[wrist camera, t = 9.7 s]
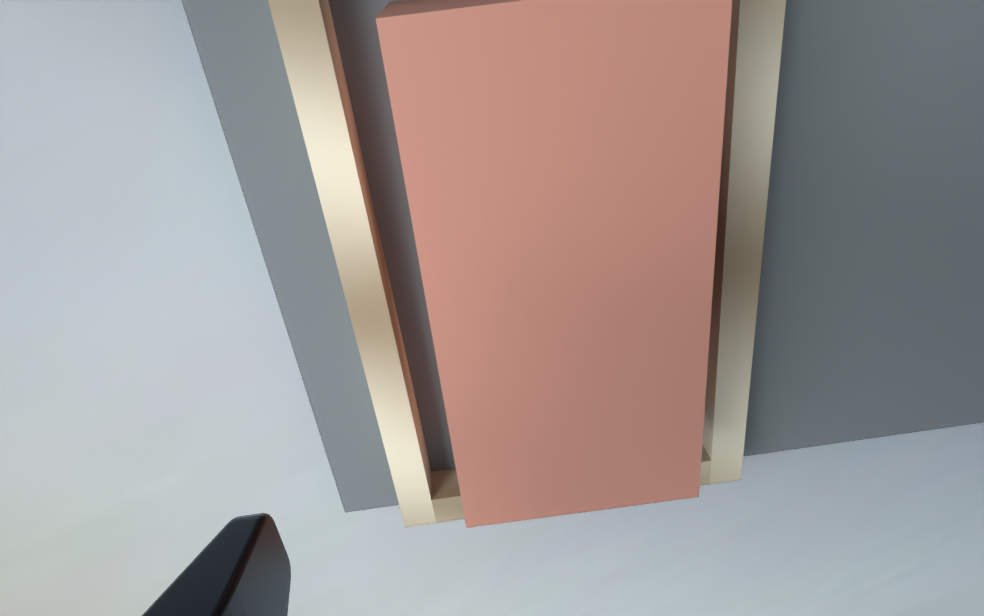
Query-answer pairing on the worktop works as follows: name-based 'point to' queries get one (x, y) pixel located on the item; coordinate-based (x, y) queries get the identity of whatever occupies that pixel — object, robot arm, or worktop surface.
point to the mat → (786, 246)
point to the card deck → (564, 238)
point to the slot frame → (367, 282)
